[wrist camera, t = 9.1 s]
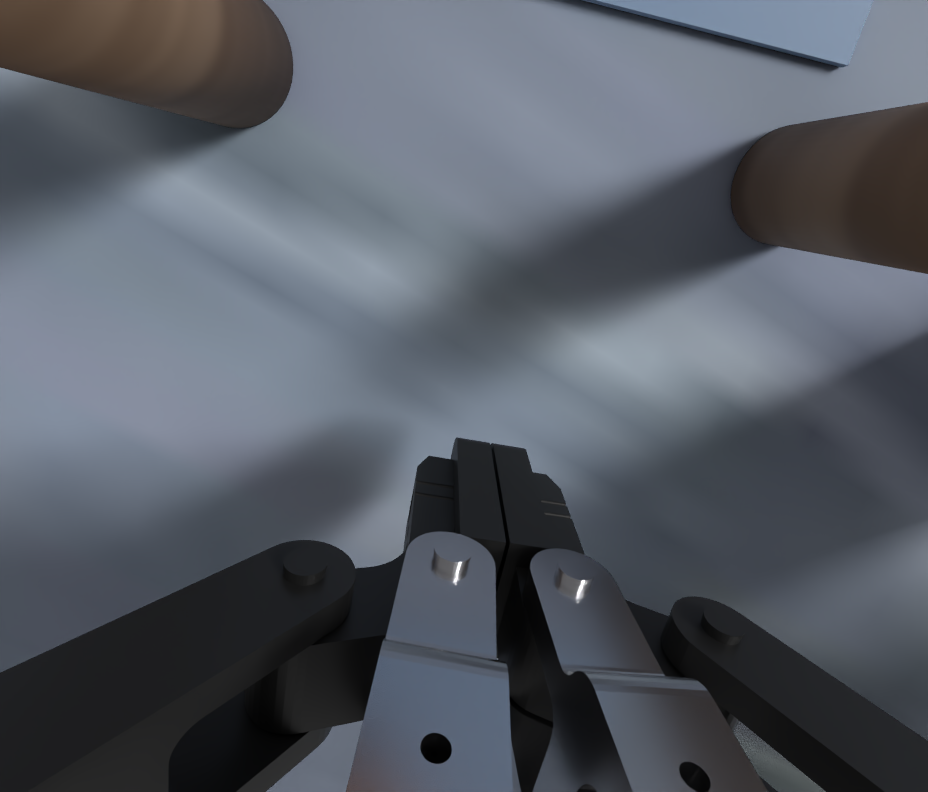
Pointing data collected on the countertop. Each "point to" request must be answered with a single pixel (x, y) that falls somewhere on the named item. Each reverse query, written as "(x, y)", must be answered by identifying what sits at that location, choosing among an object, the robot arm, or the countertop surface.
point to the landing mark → (767, 22)
